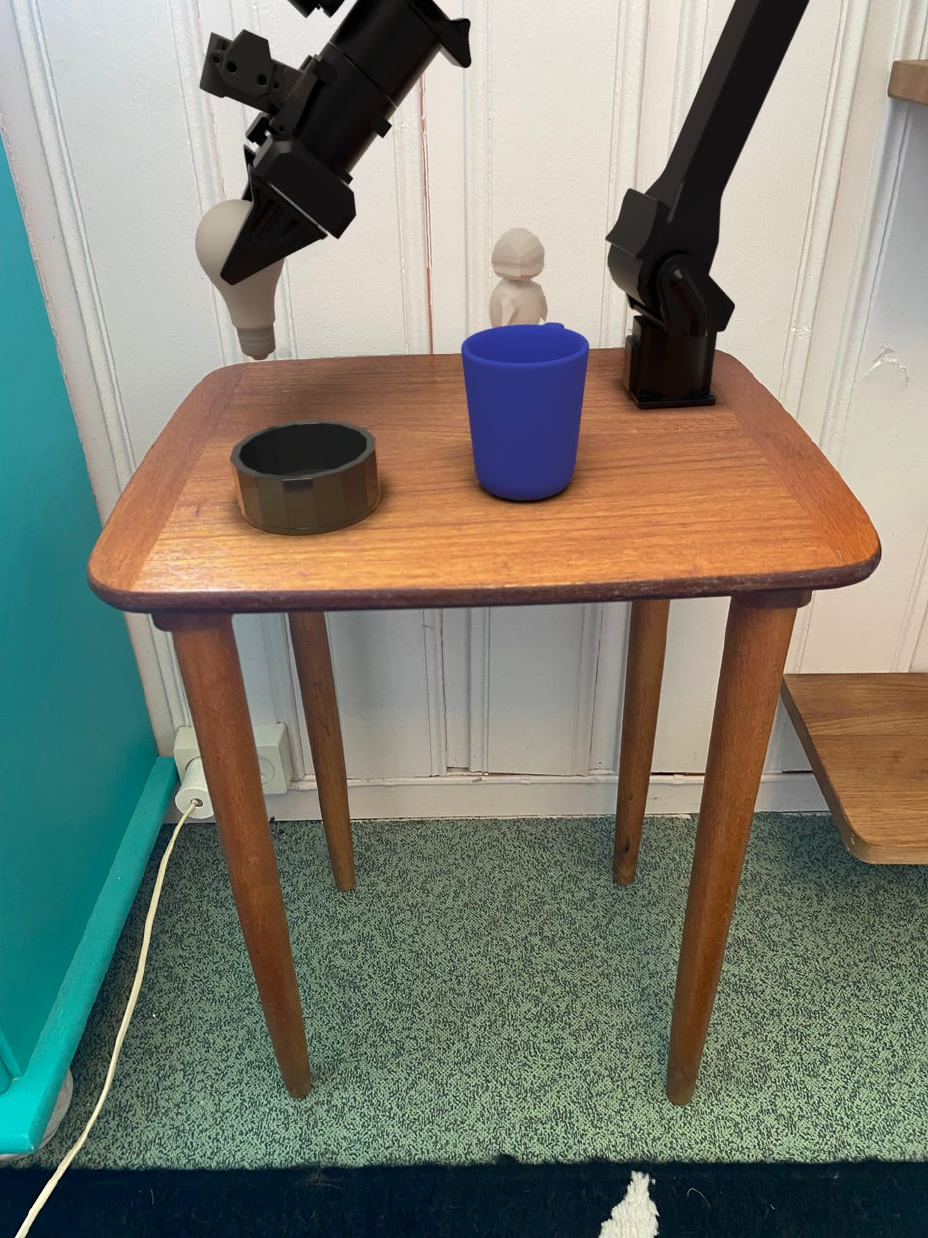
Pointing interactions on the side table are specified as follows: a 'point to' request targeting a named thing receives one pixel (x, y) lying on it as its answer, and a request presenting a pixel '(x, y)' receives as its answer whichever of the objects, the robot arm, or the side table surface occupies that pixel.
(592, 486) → the side table surface
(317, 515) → the bowl
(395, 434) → the side table surface
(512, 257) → the figurine
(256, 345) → the lightbulb
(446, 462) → the side table surface
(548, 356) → the mug
